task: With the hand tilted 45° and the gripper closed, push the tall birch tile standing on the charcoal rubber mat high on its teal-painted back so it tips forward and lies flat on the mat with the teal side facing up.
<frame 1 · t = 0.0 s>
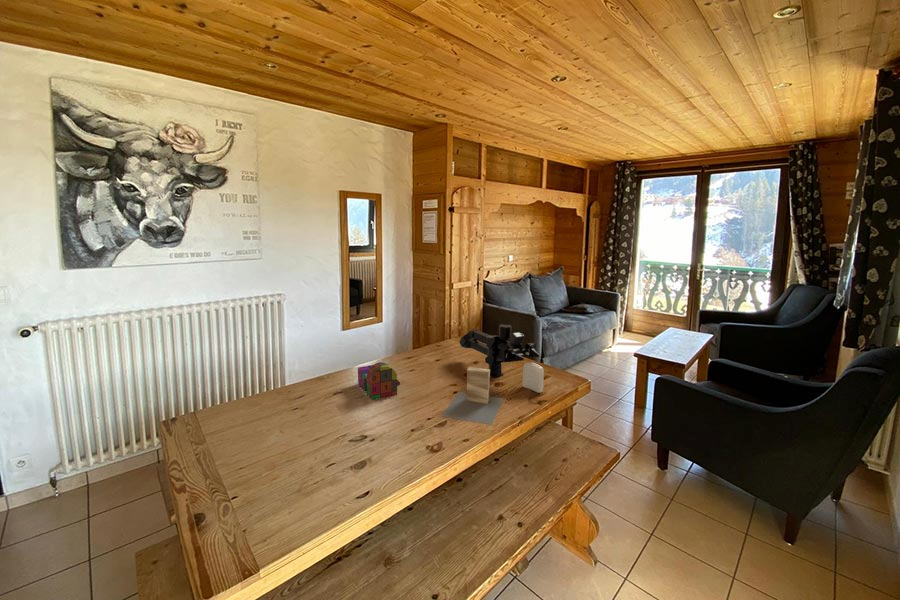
hand: (531, 357, 179), 17 cm above the table, tool horizontal, fingers open, 9 cm apart
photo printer: (532, 389, 187), on the table
rubber mat: (473, 408, 166), on the table
block puzzle: (380, 386, 188), on the table
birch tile: (477, 400, 172), point 1 cm above the table, touching rubber mat
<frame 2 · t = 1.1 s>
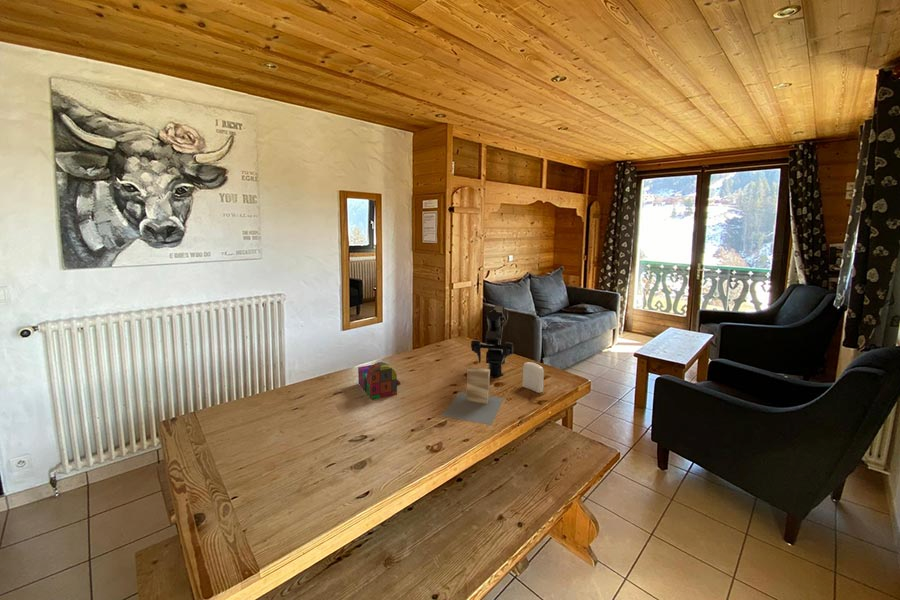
hand: (490, 363, 178), 14 cm above the table, tool tilted 50°, fingers open, 9 cm apart
nothing on the table moved.
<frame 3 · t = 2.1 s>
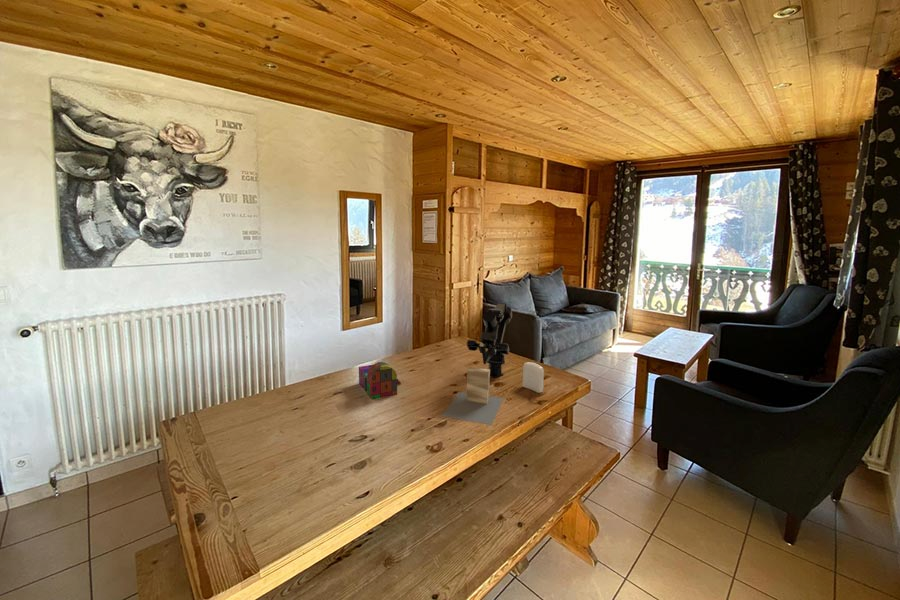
hand: (484, 363, 179), 14 cm above the table, tool tilted 45°, fingers closed
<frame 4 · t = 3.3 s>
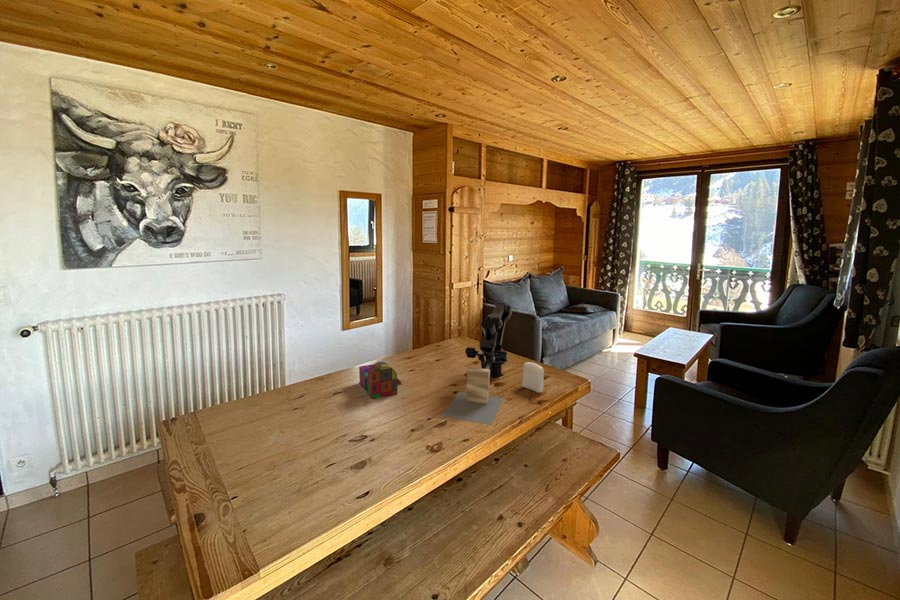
hand: (483, 371, 177), 11 cm above the table, tool tilted 45°, fingers closed
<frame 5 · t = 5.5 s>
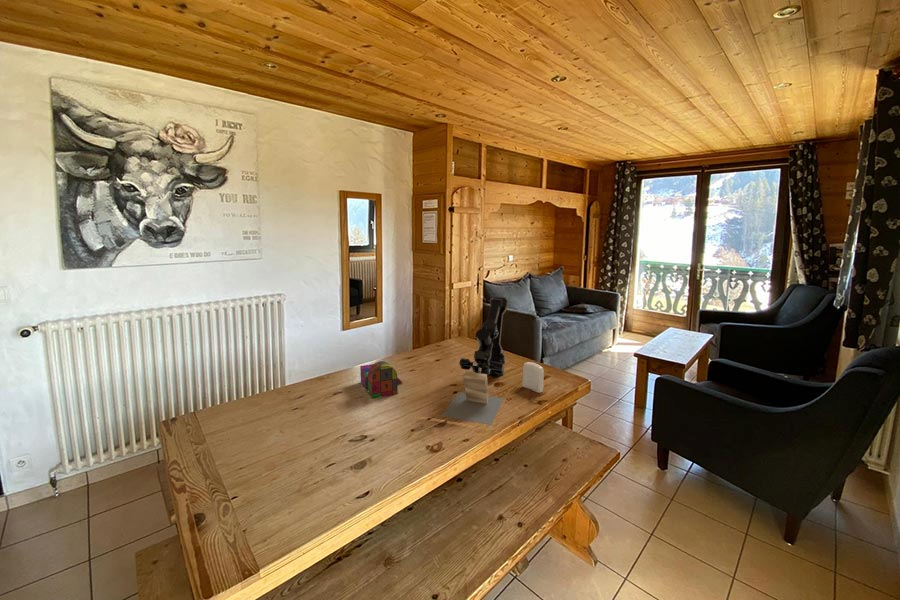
hand: (477, 384, 170), 8 cm above the table, tool tilted 45°, fingers closed
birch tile: (477, 399, 172), point 1 cm above the table, tilted 23°, touching rubber mat
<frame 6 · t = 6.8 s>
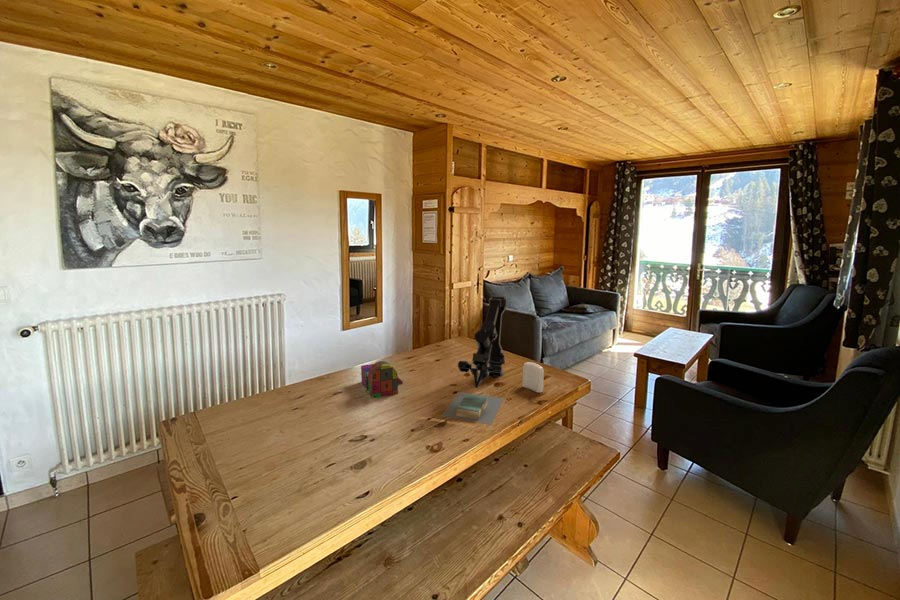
hand: (476, 387, 168), 8 cm above the table, tool tilted 45°, fingers closed
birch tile: (476, 399, 170), point 2 cm above the table, tilted 90°, touching rubber mat
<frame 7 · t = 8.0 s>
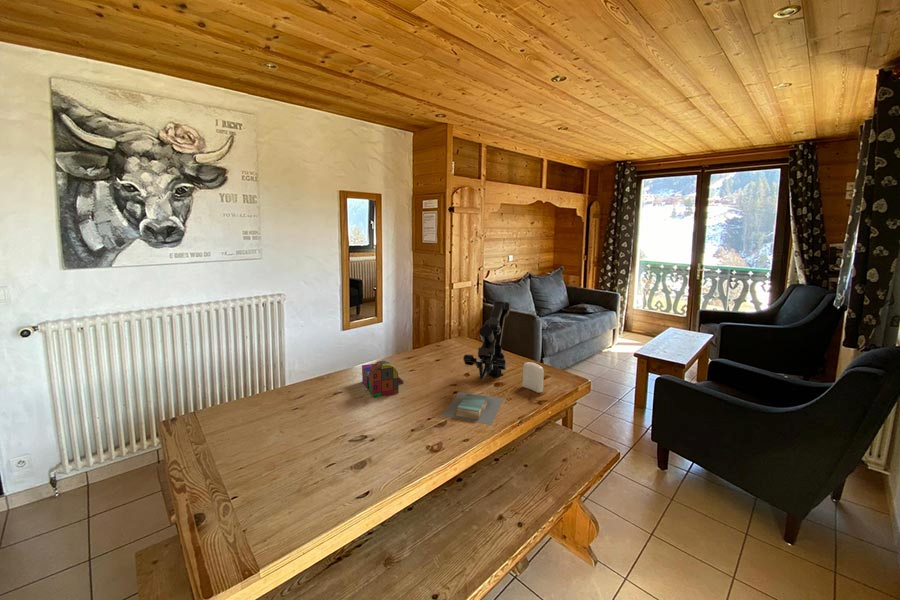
hand: (481, 379, 176), 8 cm above the table, tool tilted 45°, fingers closed
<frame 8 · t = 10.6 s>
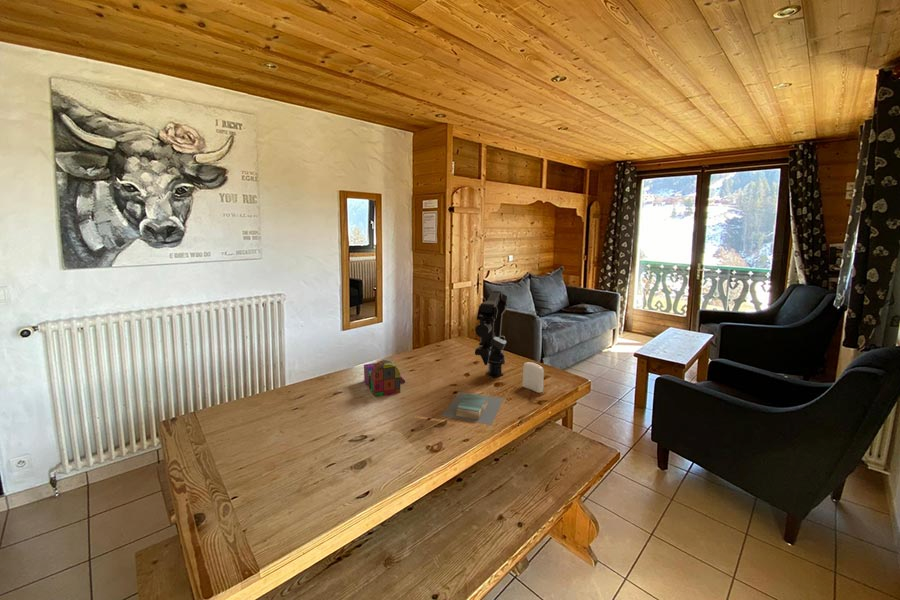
hand: (486, 364, 183), 12 cm above the table, tool pointing down, fingers closed
block puzzle: (385, 384, 191), on the table
everything else where it was.
at the end: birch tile tilted 90°; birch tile touching rubber mat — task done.
